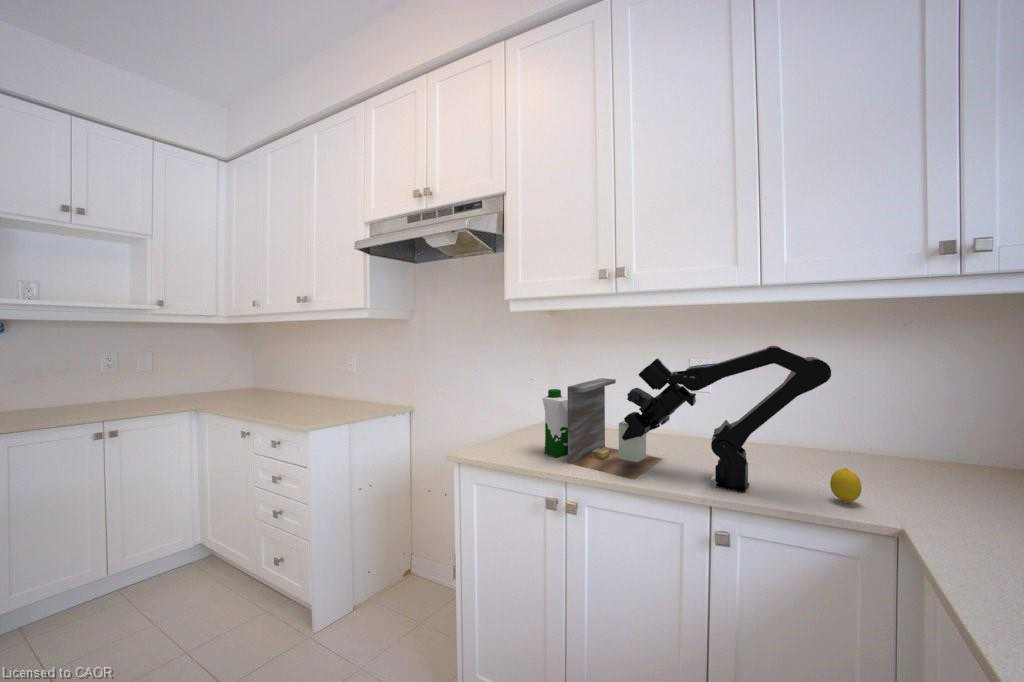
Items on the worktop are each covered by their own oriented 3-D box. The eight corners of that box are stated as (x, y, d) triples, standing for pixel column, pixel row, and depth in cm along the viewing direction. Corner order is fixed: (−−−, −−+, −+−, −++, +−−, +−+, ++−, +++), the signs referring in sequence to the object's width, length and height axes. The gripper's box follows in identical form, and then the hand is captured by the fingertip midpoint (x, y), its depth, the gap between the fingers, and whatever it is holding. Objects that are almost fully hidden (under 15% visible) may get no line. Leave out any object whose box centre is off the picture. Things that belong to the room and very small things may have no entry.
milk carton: (558, 447, 139) (558, 387, 138) (580, 454, 132) (580, 390, 131) (540, 454, 133) (539, 391, 132) (561, 461, 127) (561, 394, 125)
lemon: (824, 500, 97) (825, 466, 97) (838, 496, 99) (839, 462, 99) (851, 510, 92) (852, 474, 92) (866, 505, 94) (867, 470, 94)
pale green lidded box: (646, 456, 120) (646, 422, 119) (637, 462, 116) (637, 426, 115) (627, 453, 123) (627, 419, 123) (618, 458, 119) (618, 423, 119)
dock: (663, 462, 124) (663, 383, 123) (634, 483, 109) (634, 393, 108) (601, 449, 137) (601, 378, 136) (568, 466, 122) (567, 386, 120)
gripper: (658, 375, 123) (623, 408, 131) (631, 383, 109) (593, 420, 116) (686, 405, 118) (648, 437, 126) (661, 418, 104) (620, 454, 112)
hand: (627, 436), depth 120 cm, fingers closed on pale green lidded box, 6 cm apart
